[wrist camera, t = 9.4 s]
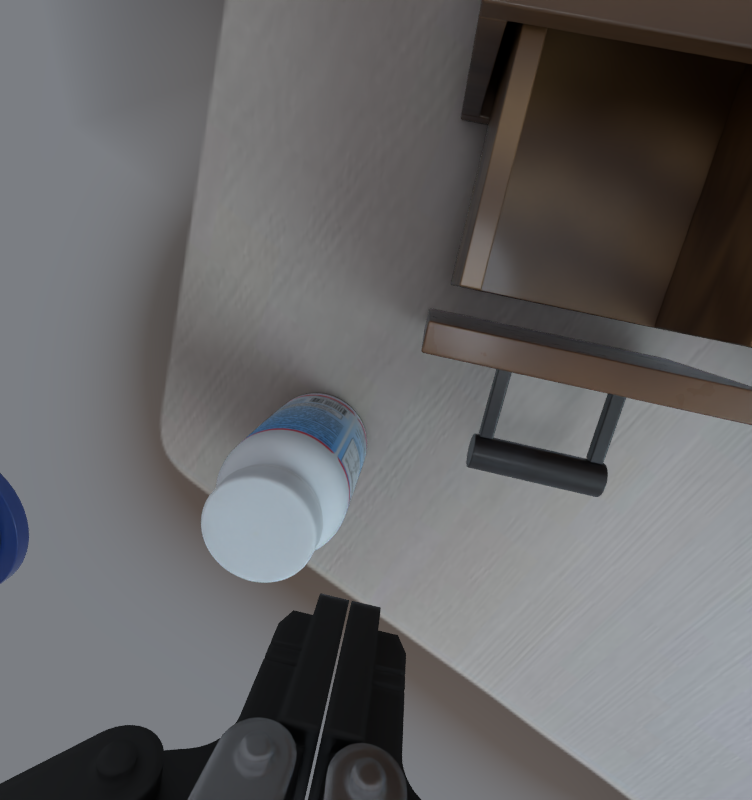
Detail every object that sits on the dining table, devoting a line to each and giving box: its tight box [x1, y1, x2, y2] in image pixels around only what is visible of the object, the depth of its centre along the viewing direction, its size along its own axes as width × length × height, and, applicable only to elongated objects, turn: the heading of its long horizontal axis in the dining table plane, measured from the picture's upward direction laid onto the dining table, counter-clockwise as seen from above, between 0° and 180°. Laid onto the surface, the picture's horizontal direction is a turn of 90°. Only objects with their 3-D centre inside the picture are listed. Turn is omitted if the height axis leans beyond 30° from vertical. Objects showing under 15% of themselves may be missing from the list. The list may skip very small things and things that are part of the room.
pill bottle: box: [201, 393, 367, 583], centre depth 24 cm, size 6×6×11 cm
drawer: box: [422, 22, 752, 497], centre depth 20 cm, size 21×13×9 cm, turn 168°
